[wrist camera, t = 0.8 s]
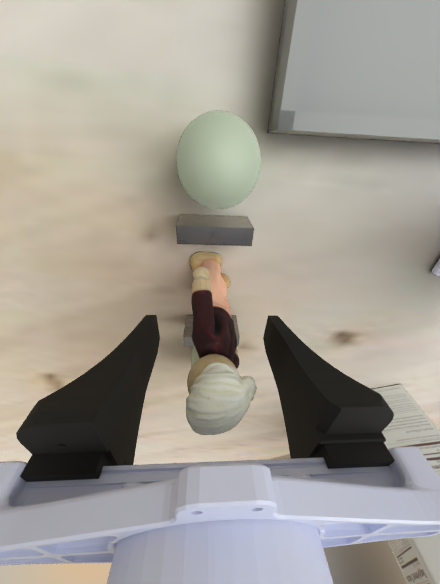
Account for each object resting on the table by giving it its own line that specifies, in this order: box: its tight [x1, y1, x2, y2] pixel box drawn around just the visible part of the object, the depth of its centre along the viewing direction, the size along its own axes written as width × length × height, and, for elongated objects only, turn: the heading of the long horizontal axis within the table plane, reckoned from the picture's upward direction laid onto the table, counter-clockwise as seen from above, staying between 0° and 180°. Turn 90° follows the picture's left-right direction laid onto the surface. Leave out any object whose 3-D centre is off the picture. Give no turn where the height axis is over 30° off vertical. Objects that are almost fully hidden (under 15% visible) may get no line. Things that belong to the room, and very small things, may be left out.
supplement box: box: [372, 384, 440, 584], centre depth 26 cm, size 10×9×17 cm
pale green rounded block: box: [176, 111, 261, 209], centre depth 12 cm, size 4×4×5 cm
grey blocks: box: [176, 214, 254, 346], centre depth 18 cm, size 5×11×3 cm, turn 177°
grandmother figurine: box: [186, 252, 256, 435], centre depth 14 cm, size 8×4×13 cm, turn 28°
